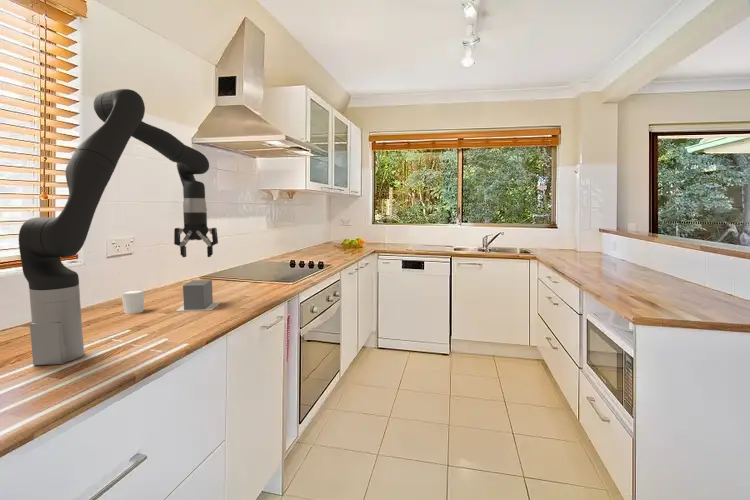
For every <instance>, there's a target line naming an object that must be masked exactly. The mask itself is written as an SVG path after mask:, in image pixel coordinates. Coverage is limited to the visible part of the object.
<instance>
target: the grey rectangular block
mask: <svg viewBox="0 0 750 500" xmlns="http://www.w3.org/2000/svg"><path fill="white" fill-rule="evenodd" d="M182 293H183V294H182V296H183V305H184V310H202V311H205V310H204V309H206V308H207V307H208V306H209V305H210V304H212V303H213V302H214V299H213V298H214V297H213V280H212V279H197V280H196V279H194V280H191V281H188V282H187V283H185V284H184V285H183V284H182Z"/></svg>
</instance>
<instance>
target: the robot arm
mask: <svg viewBox="0 0 750 500" xmlns="http://www.w3.org/2000/svg"><path fill="white" fill-rule="evenodd" d="M92 105H93V110H94V112H95V114H96V115H97V117H98V118H99V119H100V120H101V121H102V122H103V123H102V125H101V126H99V127H98V128H97V129H96V130H94V132H93V131H92V133H91V134H89V135H88V137H86V138H85V139H84V140H82V142H81V143H80V144H78V146H77V148H76V149H75V150H74V151H73V154H72V155H71V157H70V159H69V160H68V163H67V165H66V168H65V180H66V184H67V188H68V197H67V198H68V199H67V201H66V203H65V205H64V207H63V209H62V211H61V212H60V213H59V214H58V216H55V217H54V216H53V217H51V216H50V217H48V216H47V217H46V216H45V217H43V216H41V217H39V216H37V217H32V218H29V219H27V220H26V221H24V222H23V223H22V225H21V227H20V228H19V232H18V248H19V255H20V260H21V268H22V273H23V276H24V279H26V281H27V282H28V283H27V284H28V292H29V302H30V303H29V304H30V316H31V323H30V324H29V333H30V341H31V342H30V343H31V354H32V365H33V366H46V365H63V364H65V363H68V362H71V361H74V360H77V359H80V358H81V357H83V356H84V355H85V349H84V348H85V347H84V345H85V344H84V335H83V334H84V333H83V320H82V305H81V294H80V279H79V274H78V272H76V271H74V270H72V269H70V268H68V267H67V266H65V264H64V263H63V262H62V261H61V258H70V257H73V256H75V255H77V254H78V253H79V252H80V251H81V249H82V248H83V246H84V244H85V242H86V239H87V237H88V233H89V231H90V227H91V224H92V221H93V218H94V217H95V213H96V210H97V208H98V205H99V203H100V201H101V198H102V196H103V193H104V192H105V190H106V187H107V186H108V184H109V182H110V180H111V178H112V176H113V173H114V172H115V170H116V168H117V165H118V163H119V160H120V158H121V156H122V154H123V153H124V150H125V149H126V147H127V144H129V143H128V142H129V141H130V140H131V137H132V138H134V139H136V140H138V141H139V142H142V144H145V145H147V146H149V147H150V148H152V149H154V150H155V151H156V152H158V153H160V154H161V155H162V156H163V157H164V158H166V159H168V160H169V161H171V162H173V163H176V169H177V173H178V176H179V179H180V182H181V185H182V194H183V196H182V197H183V203H182V211H183V212H182V213H183V227H182V228H180V227H175V228H174V229H173V232H174V233H173V235H174V236H173V238H174V239H173V241H174V243H173V244H174V245H175V246H178V247H179V249H180V256H182V258H186V257H187V243H189V242H190V241H195V240H196V241H201V240H202V241H203V242H204V243H205V244H206V250H207V251H206V252H207V254H206V255H207V258H210V257H212V256H213V254H214V253H213V252H214V249H213V247H214V246H215V245H217V244H218V243H219V238H218V229H217V227H212V228H211V227H210V228H209V227H208V217H207V214H208V212H207V211H208V209H207V202H206V186H205V183H204V182H202V181H198V180H196V178H195V175H203V174H207V172H208V171H209V170H210V162H209V159H208V157H207V156H205V155H204V153H202V152H201V151H199V150H197V149H195V148H193V147H190V146H189V145H186V144H184V142H182V141H181V140H180V139H178V138H177V137H176V136H174V135H173V134H172V133H170V132H168V131H166V130H165V129H162V128H160V127H156V126H154V125H152V124H149V123H146V122H145V121H143V119H144V117H145V112H146V111H145V110H146V106H145V102H144V99H143V97H142V96H141V95H140V94H139V93H138V92H137V91H135V90H132V89H129V88H121V89H120V88H119V89H114V90H110V91H104V92H102V93H99V94H97V95H96V96H95V97H94V100H93V104H92ZM183 233H184V234H185V236H184V237H183V239H182V240H181V235H182V234H183ZM208 233H210V235H211V237H212V238H211V239H212V240H210V238H209V236H208V235H207V234H208Z"/></svg>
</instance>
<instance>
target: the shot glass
mask: <svg viewBox="0 0 750 500" xmlns="http://www.w3.org/2000/svg"><path fill="white" fill-rule="evenodd" d="M121 300H122V307H123V311H124V314H126V315H132V314H133V315H134V314H139V313H143V312H144V308H145V290H143V289H141V290H140V289H137V290H135V289H134V290H126V291H122V292H121Z"/></svg>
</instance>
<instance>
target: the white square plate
mask: <svg viewBox="0 0 750 500" xmlns="http://www.w3.org/2000/svg"><path fill="white" fill-rule="evenodd" d="M220 303H221V301H213V303H212V304H210V305H209V306H208V307H207V308H206V309H204V310H184V304H183V305H182V306H180V307H179V308H178V309H176V310H175V312H193V311H194V312H195V311H198V312H199V311H200V312H202V311H213V310H214V309H215V308H216V307H217V306H218V305H219V304H220Z"/></svg>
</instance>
